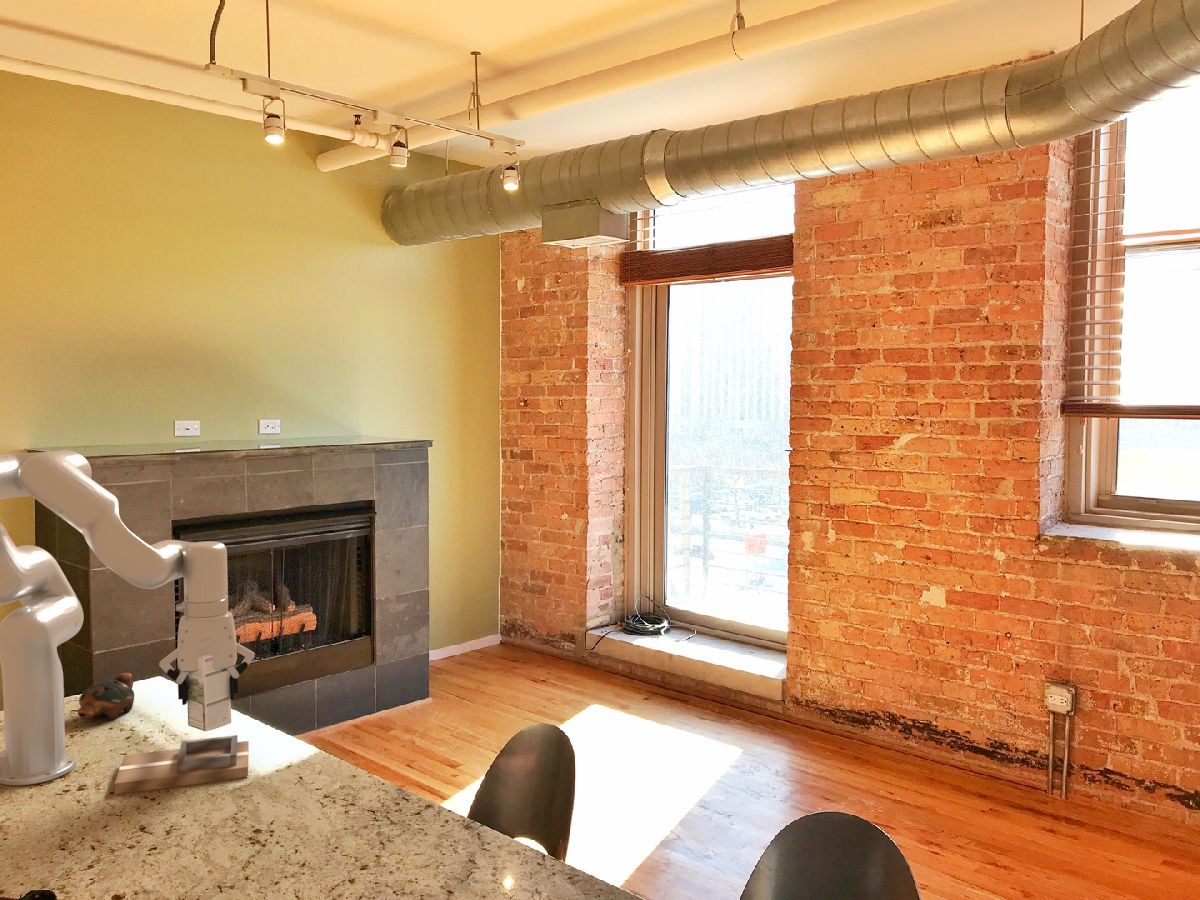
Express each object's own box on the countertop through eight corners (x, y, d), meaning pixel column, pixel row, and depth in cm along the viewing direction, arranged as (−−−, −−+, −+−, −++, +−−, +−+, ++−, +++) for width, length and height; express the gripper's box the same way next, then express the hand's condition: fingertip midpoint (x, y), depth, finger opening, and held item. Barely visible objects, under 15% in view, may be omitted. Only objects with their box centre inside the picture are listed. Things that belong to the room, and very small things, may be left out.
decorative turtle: (149, 704, 204) (148, 670, 203) (107, 733, 189) (106, 697, 188) (108, 699, 205) (108, 666, 204) (63, 729, 190) (62, 693, 189)
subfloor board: (114, 794, 159) (114, 772, 159) (124, 765, 171) (124, 745, 171) (247, 777, 167) (247, 756, 167) (248, 750, 179) (248, 731, 179)
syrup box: (232, 723, 171) (231, 648, 170) (204, 733, 166) (202, 655, 165) (214, 717, 174) (212, 643, 173) (186, 726, 169) (184, 650, 168)
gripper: (152, 616, 162) (155, 712, 163) (256, 608, 168) (258, 700, 169) (157, 607, 169) (159, 698, 170) (256, 600, 175) (258, 688, 176)
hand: (208, 699), depth 170 cm, fingers closed on syrup box, 7 cm apart
